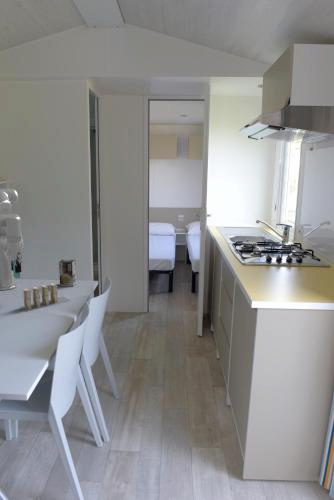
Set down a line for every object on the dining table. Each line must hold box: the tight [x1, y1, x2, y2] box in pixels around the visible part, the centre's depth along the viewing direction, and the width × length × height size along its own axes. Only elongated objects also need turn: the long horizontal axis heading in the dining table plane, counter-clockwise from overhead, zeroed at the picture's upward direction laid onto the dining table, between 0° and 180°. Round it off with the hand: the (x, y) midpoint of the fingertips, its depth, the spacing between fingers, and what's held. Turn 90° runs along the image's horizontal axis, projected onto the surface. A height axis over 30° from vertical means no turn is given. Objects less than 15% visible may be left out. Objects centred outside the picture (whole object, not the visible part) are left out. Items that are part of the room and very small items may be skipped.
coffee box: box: [58, 259, 77, 287], centre depth 242 cm, size 9×6×16 cm
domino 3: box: [41, 284, 50, 305], centre depth 208 cm, size 5×2×10 cm, turn 42°
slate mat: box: [19, 296, 72, 313], centre depth 209 cm, size 9×26×1 cm, turn 132°
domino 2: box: [32, 286, 41, 307], centre depth 205 cm, size 5×2×10 cm, turn 42°
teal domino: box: [12, 259, 21, 279], centre depth 208 cm, size 5×2×10 cm, turn 42°
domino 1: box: [23, 288, 32, 310], centre depth 201 cm, size 5×2×10 cm, turn 42°
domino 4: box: [49, 282, 59, 303], centre depth 211 cm, size 5×2×10 cm, turn 42°
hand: (16, 270), depth 208 cm, fingers closed on teal domino, 4 cm apart
